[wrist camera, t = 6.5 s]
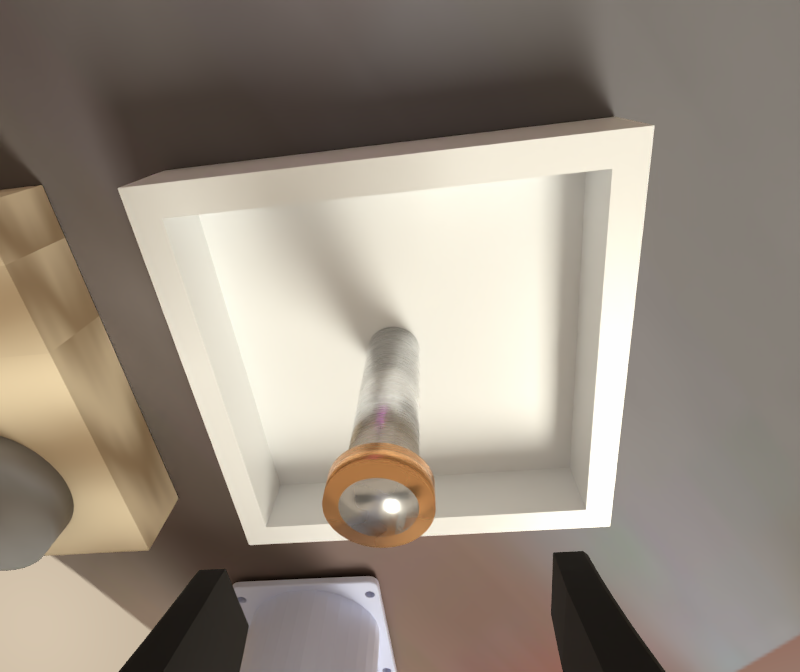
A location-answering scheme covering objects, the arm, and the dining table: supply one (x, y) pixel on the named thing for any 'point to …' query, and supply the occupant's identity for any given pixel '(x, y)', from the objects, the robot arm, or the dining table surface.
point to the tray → (410, 314)
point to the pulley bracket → (65, 407)
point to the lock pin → (384, 452)
